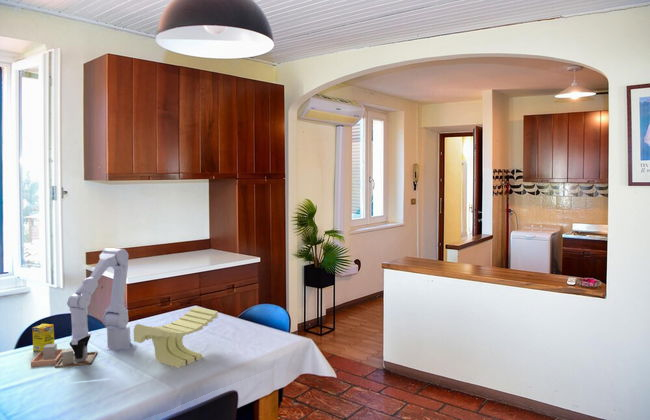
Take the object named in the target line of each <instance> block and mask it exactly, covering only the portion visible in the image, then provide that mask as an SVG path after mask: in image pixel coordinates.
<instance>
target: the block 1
mask: <svg viewBox="0 0 650 420" xmlns="http://www.w3.org/2000/svg"><path fill="white" fill-rule="evenodd" d="M57 349H58V344H57V343H54V344H46V345H45V346H44V347H43V358H44V359H54V358H55V357H56V356H57Z"/></svg>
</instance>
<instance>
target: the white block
mask: <svg viewBox="0 0 650 420" xmlns="http://www.w3.org/2000/svg"><path fill="white" fill-rule="evenodd" d="M61 349H62V364H63V365H65V364H71V363H74V355H73V353H74V351H73V349H72V347H70V348H61Z"/></svg>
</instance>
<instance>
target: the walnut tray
mask: <svg viewBox="0 0 650 420" xmlns="http://www.w3.org/2000/svg"><path fill="white" fill-rule="evenodd" d="M87 353H88V358H87V359H86V361H79V362H75V360H74V363H71V364H65V365H63V364H62V357H61V359H60V360H59V361H58V363H57V364H56V365H54V369H55V368H56V369H57V368H66V367H77V366H78V367H79V366H90V365H93V362H94V360H95V358H96V357H97V355H98V351H87ZM73 355H74V352H73Z"/></svg>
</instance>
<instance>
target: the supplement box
mask: <svg viewBox="0 0 650 420" xmlns="http://www.w3.org/2000/svg"><path fill="white" fill-rule="evenodd" d="M31 330H32V350H33V353H36V352H37V353H39V352H40V351H42V350H43V347H44V346H45V345H46V344H55V327H54V324H53V323H51V324H49V323H41V324H40V325H36V326H33V327H31Z"/></svg>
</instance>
